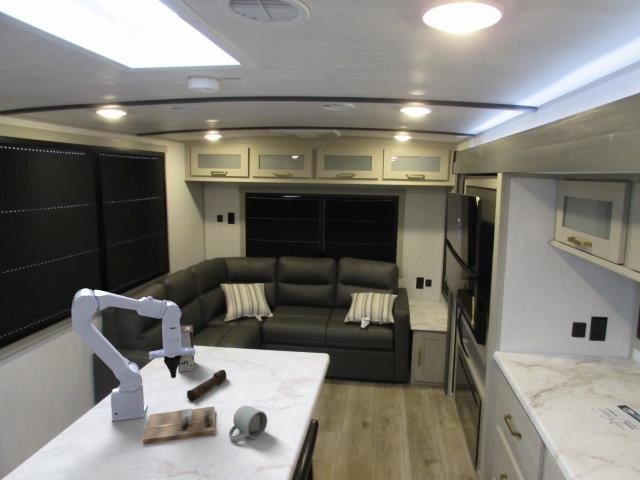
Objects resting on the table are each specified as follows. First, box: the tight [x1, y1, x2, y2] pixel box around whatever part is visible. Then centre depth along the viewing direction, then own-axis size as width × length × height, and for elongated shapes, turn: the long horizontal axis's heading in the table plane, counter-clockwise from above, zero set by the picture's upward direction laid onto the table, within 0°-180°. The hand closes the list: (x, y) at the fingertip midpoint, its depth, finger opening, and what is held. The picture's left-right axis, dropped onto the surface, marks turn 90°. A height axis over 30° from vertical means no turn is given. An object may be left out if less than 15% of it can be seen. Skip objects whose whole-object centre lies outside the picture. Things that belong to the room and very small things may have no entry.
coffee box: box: [177, 324, 195, 373], centre depth 174 cm, size 9×6×16 cm
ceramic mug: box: [228, 405, 268, 443], centre depth 128 cm, size 11×8×8 cm
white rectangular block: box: [181, 408, 193, 426], centre depth 131 cm, size 3×5×3 cm, turn 14°
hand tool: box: [186, 369, 227, 402], centre depth 156 cm, size 19×4×5 cm, turn 151°
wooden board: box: [142, 406, 216, 446], centre depth 132 cm, size 20×14×5 cm
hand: (173, 376), depth 145 cm, fingers closed
